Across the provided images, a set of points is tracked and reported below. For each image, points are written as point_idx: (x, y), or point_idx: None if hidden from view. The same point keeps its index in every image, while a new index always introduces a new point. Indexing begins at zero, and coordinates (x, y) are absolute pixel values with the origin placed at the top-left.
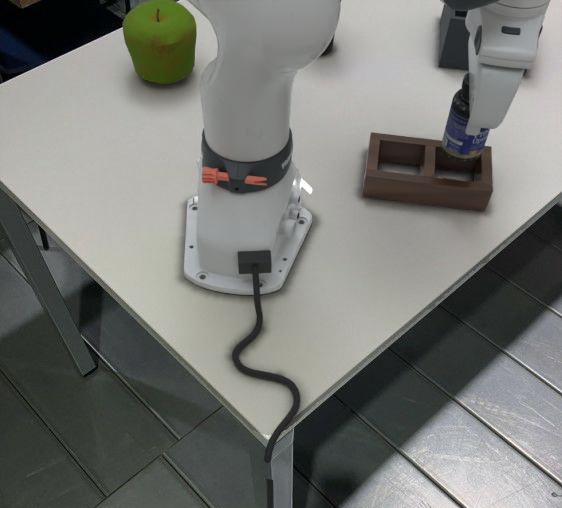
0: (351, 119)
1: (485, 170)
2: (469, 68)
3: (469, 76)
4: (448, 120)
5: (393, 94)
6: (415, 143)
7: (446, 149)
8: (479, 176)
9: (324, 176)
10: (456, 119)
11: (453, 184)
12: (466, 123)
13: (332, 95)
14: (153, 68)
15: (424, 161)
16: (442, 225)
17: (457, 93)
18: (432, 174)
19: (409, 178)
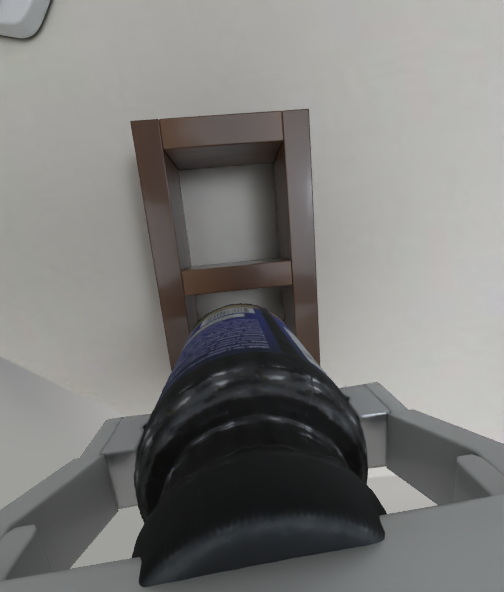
0: (401, 78)
1: None
2: (421, 564)
3: (277, 585)
4: (222, 331)
5: (500, 168)
6: (291, 235)
7: (199, 323)
8: None
9: (189, 44)
10: (172, 376)
11: (172, 339)
12: (140, 425)
13: (483, 10)
14: None
15: (232, 266)
16: (127, 321)
17: (263, 392)
18: (191, 290)
19: (158, 238)
